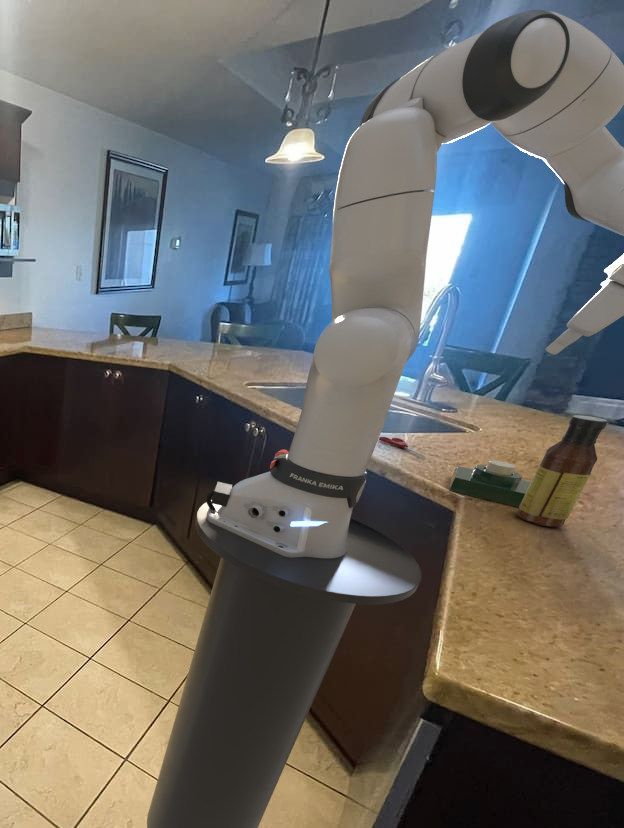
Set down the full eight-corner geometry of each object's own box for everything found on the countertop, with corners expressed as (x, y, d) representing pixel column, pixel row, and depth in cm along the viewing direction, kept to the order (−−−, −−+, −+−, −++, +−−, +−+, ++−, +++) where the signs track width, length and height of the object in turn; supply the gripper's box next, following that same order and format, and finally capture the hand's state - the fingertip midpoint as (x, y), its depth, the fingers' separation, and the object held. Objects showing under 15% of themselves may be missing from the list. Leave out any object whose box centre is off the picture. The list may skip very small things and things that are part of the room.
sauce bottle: (565, 523, 91) (626, 421, 82) (558, 532, 87) (621, 426, 79) (516, 509, 95) (570, 411, 87) (508, 517, 92) (563, 415, 84)
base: (449, 490, 103) (459, 468, 101) (451, 477, 110) (460, 457, 108) (529, 510, 96) (542, 486, 94) (526, 495, 102) (538, 473, 100)
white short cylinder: (484, 472, 101) (489, 463, 100) (484, 467, 103) (489, 458, 103) (511, 478, 98) (516, 469, 97) (510, 473, 101) (515, 464, 100)
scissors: (397, 440, 133) (399, 437, 133) (434, 459, 121) (436, 455, 120) (376, 439, 134) (378, 435, 133) (410, 457, 121) (412, 453, 121)
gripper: (627, 262, 85) (543, 332, 95) (619, 267, 74) (525, 345, 84) (670, 281, 82) (579, 350, 92) (669, 289, 71) (565, 367, 81)
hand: (553, 348), depth 88 cm, fingers open, 8 cm apart
